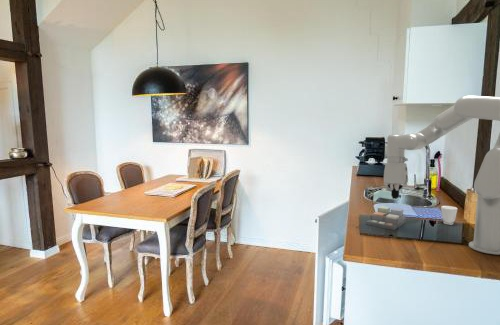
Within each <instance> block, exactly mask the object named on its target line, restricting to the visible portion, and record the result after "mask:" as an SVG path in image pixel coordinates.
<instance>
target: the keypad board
mask: <svg viewBox="0 0 500 325" xmlns="http://www.w3.org/2000/svg"><path fill="white" fill-rule="evenodd" d="M390 213H391V211H390ZM390 213H389V214H390ZM389 214H387V215H389ZM387 215H386V216H387ZM386 216H384V217H380V216H374V215H373V213H372V214H371V215H370V219H369V220H366V226H372V227H376V228H381V229H382V228H383V229H388V230H391V231H392V230H393V231H394V230H397V228H399V227H400V226H402V225H404V224H405V223H406V214H404V213H403V216H401V217H399V218H398V219H391V218H386Z"/></svg>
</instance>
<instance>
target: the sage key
mask: <svg viewBox="0 0 500 325" xmlns="http://www.w3.org/2000/svg"><path fill="white" fill-rule="evenodd" d="M377 212H381V213H386V215H387V214H389V213H390V212H391V206H383V205H380V206H378V207H377Z"/></svg>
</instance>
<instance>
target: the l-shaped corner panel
mask: <svg viewBox="0 0 500 325" xmlns="http://www.w3.org/2000/svg"><path fill="white" fill-rule="evenodd" d="M391 194H392V191H390V190H389V191H388V190H387V191H386V190H381V189H380V190H377V191H375V192H373V198H372V201H373V202H376V201H377V200H378V199H379V198H382V199H386V200H388V199H389V200H396V201H399V199H400V198H399V197H400V196H399V197H398V198H397V199H395V198H394V199H393V198H392V196H391Z"/></svg>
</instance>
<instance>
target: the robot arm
mask: <svg viewBox="0 0 500 325" xmlns="http://www.w3.org/2000/svg"><path fill="white" fill-rule="evenodd" d="M472 119H479V120H489V121H490V120H491V121H498V122H500V97H499V96H484V95H481V96H480V95H463V96H461V97H459V98H458V99H457V100H456V101H455V102H454V104H453V105H451V107H448V108H447V109H446V110H444V111H443V112H441V113H439V114H437V115H436V116H435V117H434V119H433V120H432V122H431V123H430V124H428V125H427V126H426V127H423V129H421V130H419V131H417V132H415V133H406V134H397V133H396V134H388V135H387V139H386V140H387V142H386V144H387V147H386V148H387V149H386V153H387V154H386V155H387V156H386V159H387V160H386V162H385V165H384V171H383V186H386V187H388V188H389V189H390V190H391V192H392V194H391V196H392V198H393V199H392V200H394V198H395V199H397V198H398V197H400V190H401V189H403V188H407V187H408V186H409V185H408V183H409V174H408V171H409V170H408V165H407V163H405V162H408V161H409V160H408V158H407V157H405V151H416V150H421V149H423V148H425V147H427V146H429V145H430V144H432V143H434V142H436V141H437V140H439V139H441V138H442V137H444V136H445V135H447V134H448V133H450V132H452V131H453V130H455V129H457V128H458V127H460V126H462V125H464V124H466V123H467V122H470V120H472ZM497 136H498V137H497V139H496V141H495V143H494V146H493V147H492V148H491V149H490V150H489V151H487V152H486V154H485V155H484V157H483V160H482V163H481V165H480V167H479V170H478V173H477V175H476V178H475V180H474V182H473V189H474V191H475V193H476V194H477V197H476V206H475V220H474V221H475V222H474V232H473V240H472V241H470V242H468V247H469V248H470V249H472V250H474V251H476V252H479V253H484V254H489V255H498V256H499V255H500V132H499V133H498V135H497ZM398 199H399V198H398Z"/></svg>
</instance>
